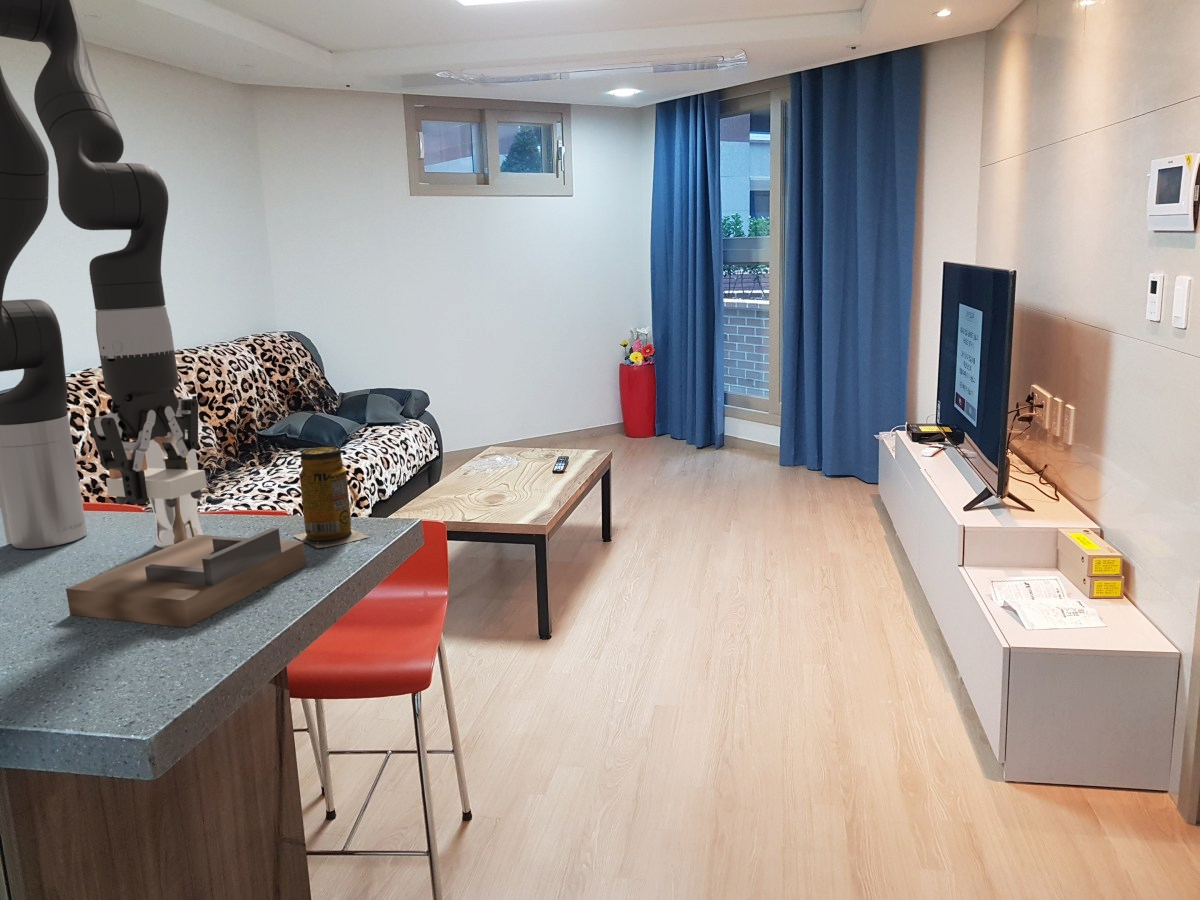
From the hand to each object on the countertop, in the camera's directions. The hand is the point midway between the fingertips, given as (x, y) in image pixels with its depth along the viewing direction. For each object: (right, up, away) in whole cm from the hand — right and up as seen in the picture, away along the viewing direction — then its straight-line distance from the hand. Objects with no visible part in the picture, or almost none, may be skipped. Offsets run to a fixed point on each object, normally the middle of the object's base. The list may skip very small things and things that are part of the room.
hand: (158, 495), depth 108 cm
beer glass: (-7, -8, +20) cm, 23 cm away
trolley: (0, -1, 0) cm, 1 cm away
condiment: (+14, -7, +19) cm, 25 cm away
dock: (+4, -11, +1) cm, 11 cm away
